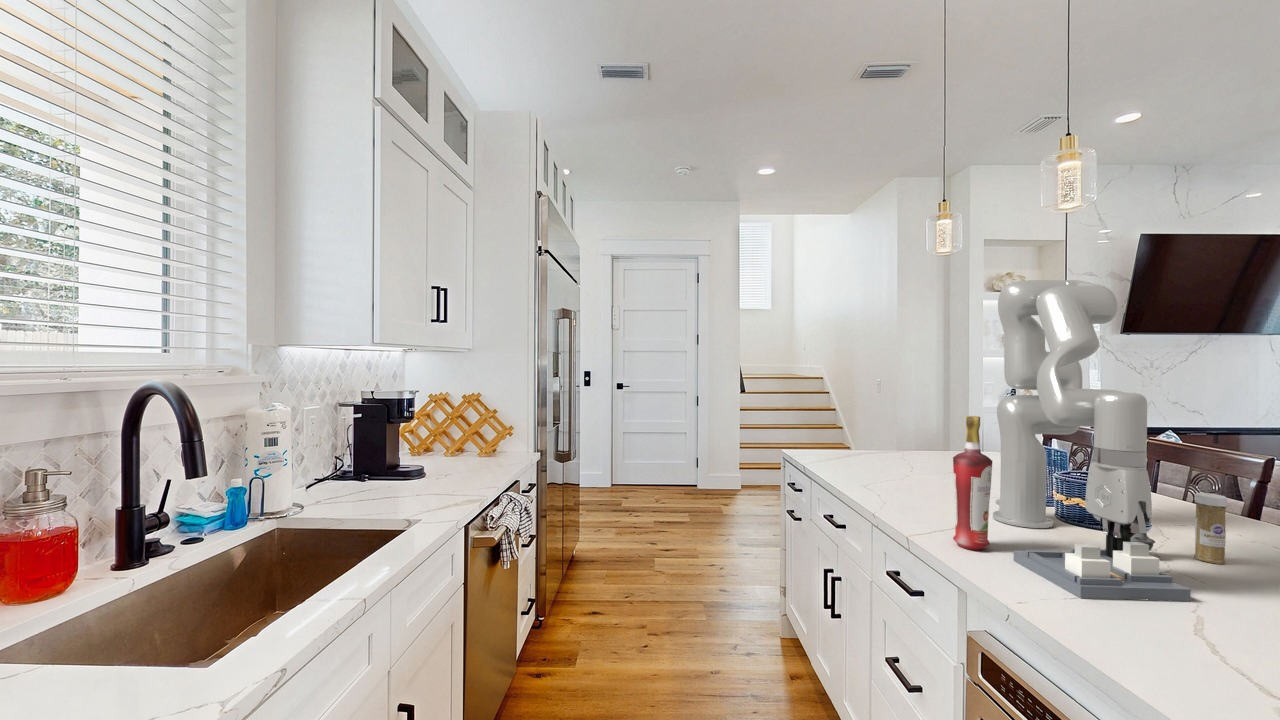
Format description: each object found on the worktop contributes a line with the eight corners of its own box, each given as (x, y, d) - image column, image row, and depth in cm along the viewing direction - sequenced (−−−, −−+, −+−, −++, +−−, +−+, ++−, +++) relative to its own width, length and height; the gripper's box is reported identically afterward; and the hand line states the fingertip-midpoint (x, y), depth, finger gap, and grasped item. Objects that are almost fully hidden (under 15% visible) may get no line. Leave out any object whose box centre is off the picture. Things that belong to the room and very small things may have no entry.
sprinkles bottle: (1210, 564, 113) (1211, 497, 113) (1187, 556, 118) (1188, 491, 118) (1232, 564, 113) (1233, 497, 113) (1208, 556, 118) (1209, 492, 118)
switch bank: (1013, 560, 114) (1013, 545, 114) (1105, 562, 113) (1105, 547, 113) (1080, 598, 96) (1080, 580, 96) (1190, 601, 95) (1190, 583, 95)
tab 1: (1064, 572, 102) (1065, 541, 102) (1092, 573, 101) (1092, 542, 101) (1081, 581, 98) (1082, 549, 98) (1110, 582, 97) (1110, 550, 97)
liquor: (965, 539, 127) (966, 414, 127) (998, 549, 120) (1000, 417, 120) (944, 544, 123) (946, 415, 123) (977, 554, 117) (979, 418, 117)
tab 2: (1112, 569, 103) (1113, 539, 103) (1139, 570, 103) (1140, 540, 103) (1131, 578, 99) (1131, 546, 99) (1159, 578, 99) (1159, 547, 99)
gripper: (1069, 452, 113) (1068, 544, 113) (1132, 465, 98) (1130, 572, 98) (1108, 452, 113) (1106, 545, 113) (1177, 466, 98) (1175, 573, 98)
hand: (1117, 557), depth 105 cm, fingers closed
